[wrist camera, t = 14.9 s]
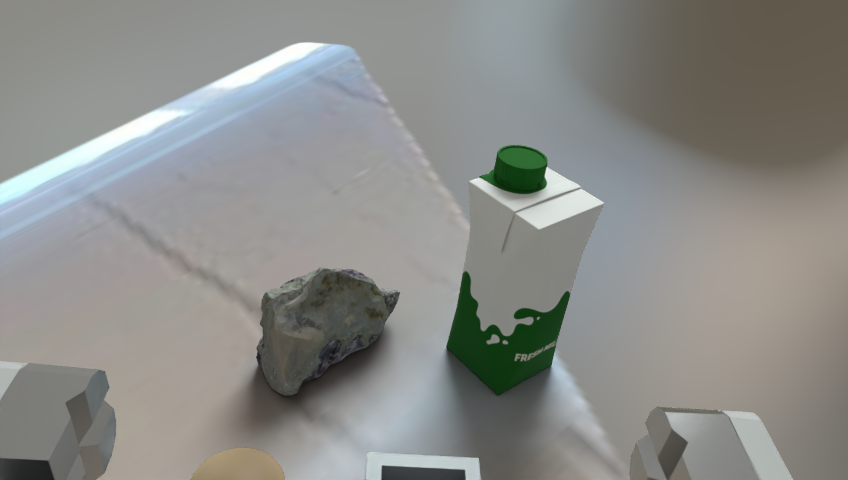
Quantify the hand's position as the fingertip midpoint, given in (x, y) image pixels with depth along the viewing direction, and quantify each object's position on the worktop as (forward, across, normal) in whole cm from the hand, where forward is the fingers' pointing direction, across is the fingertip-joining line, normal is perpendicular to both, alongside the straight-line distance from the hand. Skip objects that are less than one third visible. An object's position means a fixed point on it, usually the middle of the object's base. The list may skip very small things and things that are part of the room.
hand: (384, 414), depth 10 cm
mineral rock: (+38, +3, +37) cm, 53 cm away
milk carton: (+39, -12, +37) cm, 55 cm away
